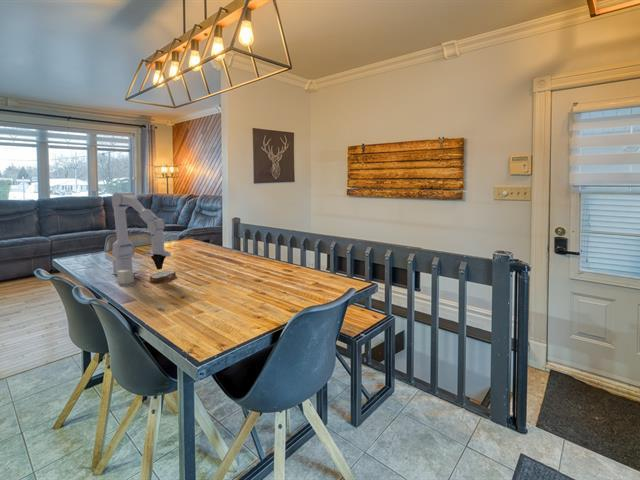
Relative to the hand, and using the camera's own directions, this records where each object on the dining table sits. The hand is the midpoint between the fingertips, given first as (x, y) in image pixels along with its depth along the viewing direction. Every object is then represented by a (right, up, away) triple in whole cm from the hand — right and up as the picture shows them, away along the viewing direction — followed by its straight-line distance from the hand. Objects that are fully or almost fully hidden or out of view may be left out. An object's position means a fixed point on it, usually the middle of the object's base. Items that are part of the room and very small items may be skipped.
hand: (159, 269), depth 182 cm
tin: (-3, -3, +2) cm, 5 cm away
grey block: (-15, -6, -4) cm, 16 cm away
